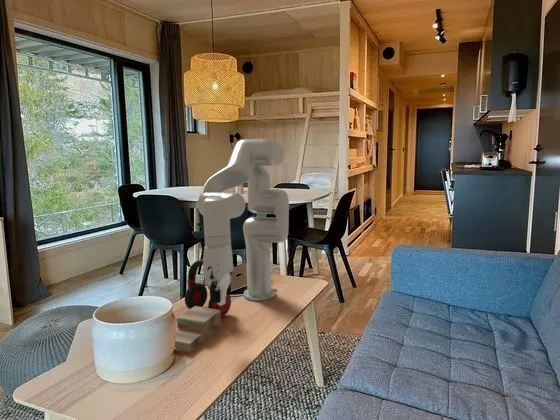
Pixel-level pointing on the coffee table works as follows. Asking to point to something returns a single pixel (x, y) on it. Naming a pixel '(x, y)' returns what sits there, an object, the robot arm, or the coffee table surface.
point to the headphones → (202, 292)
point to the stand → (196, 327)
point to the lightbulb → (223, 288)
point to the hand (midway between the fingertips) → (220, 297)
